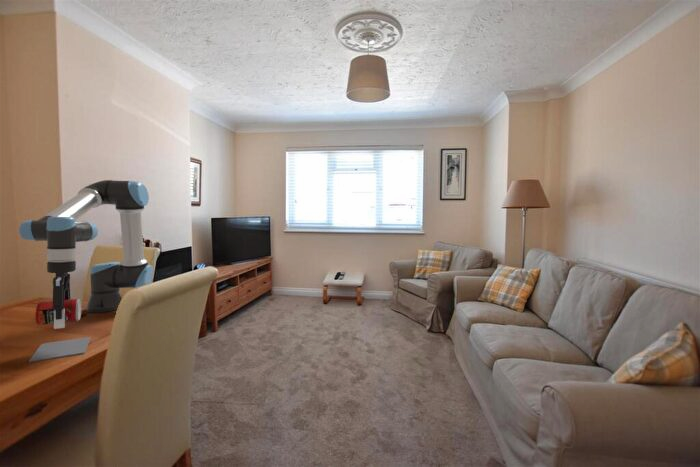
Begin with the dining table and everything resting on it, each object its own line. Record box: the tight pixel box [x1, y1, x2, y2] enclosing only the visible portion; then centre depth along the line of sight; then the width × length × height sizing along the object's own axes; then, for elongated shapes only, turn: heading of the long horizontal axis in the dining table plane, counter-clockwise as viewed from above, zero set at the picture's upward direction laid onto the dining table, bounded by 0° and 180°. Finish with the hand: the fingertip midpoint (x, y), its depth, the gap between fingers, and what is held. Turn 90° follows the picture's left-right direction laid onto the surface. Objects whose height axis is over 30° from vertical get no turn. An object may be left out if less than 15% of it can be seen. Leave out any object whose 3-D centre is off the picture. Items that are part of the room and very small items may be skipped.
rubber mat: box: [28, 336, 91, 363], centre depth 115 cm, size 16×14×1 cm
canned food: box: [35, 298, 82, 326], centre depth 114 cm, size 8×8×11 cm
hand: (62, 324), depth 114 cm, fingers closed on canned food, 8 cm apart
